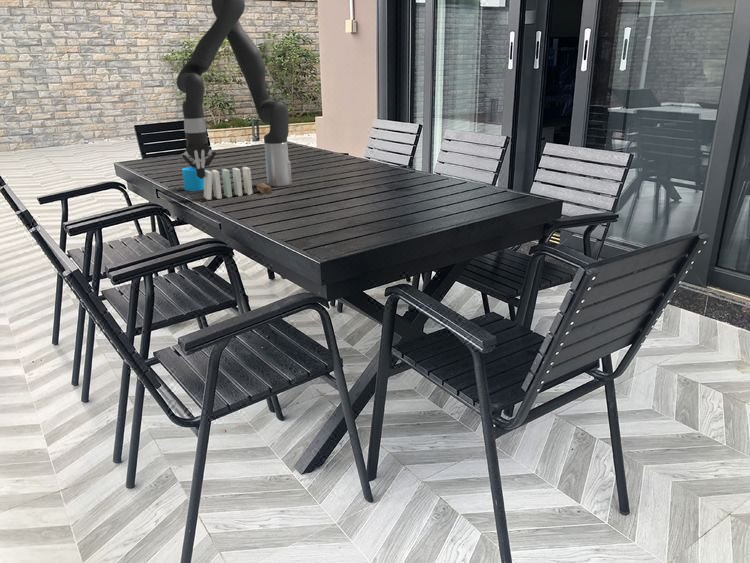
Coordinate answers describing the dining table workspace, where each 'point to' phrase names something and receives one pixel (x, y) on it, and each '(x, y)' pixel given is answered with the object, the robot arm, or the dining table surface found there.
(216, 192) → the domino
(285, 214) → the dining table surface
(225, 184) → the domino
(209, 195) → the domino
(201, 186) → the mug
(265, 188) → the end stop
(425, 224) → the dining table surface
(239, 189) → the domino
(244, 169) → the domino end
